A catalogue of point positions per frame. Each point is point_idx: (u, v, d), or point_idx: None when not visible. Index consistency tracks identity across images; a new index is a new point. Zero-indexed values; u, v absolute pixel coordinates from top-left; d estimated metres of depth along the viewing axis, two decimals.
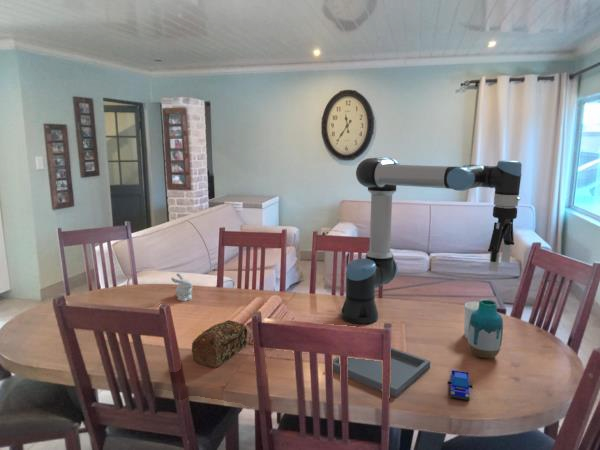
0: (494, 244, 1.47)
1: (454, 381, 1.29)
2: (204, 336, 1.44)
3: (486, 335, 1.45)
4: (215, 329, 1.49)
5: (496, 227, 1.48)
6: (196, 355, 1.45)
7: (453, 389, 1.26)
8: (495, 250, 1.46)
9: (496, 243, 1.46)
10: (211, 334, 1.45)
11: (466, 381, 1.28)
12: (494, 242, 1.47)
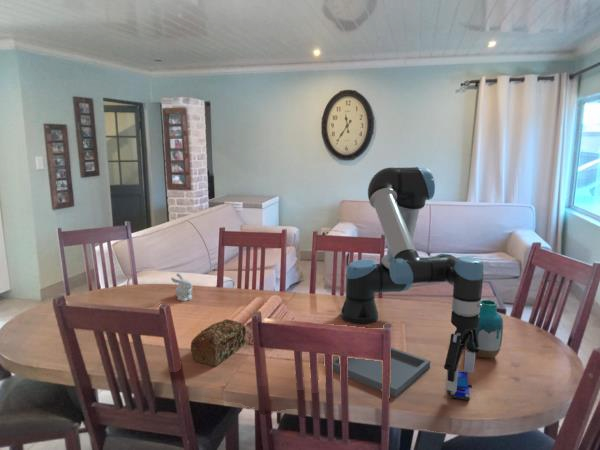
0: (450, 362, 1.21)
1: None
2: (203, 335, 1.44)
3: (486, 335, 1.45)
4: (214, 328, 1.50)
5: (453, 340, 1.23)
6: (195, 354, 1.45)
7: None
8: (451, 370, 1.21)
9: (453, 361, 1.21)
10: (210, 333, 1.45)
11: (465, 381, 1.28)
12: (451, 359, 1.22)
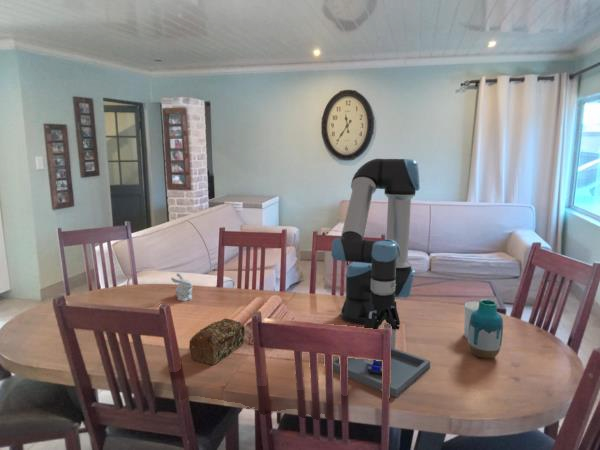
0: None
1: None
2: (201, 334, 1.45)
3: (486, 335, 1.45)
4: (212, 327, 1.50)
5: (369, 317, 1.34)
6: (194, 353, 1.46)
7: (370, 364, 1.38)
8: None
9: None
10: (208, 332, 1.46)
11: None
12: None
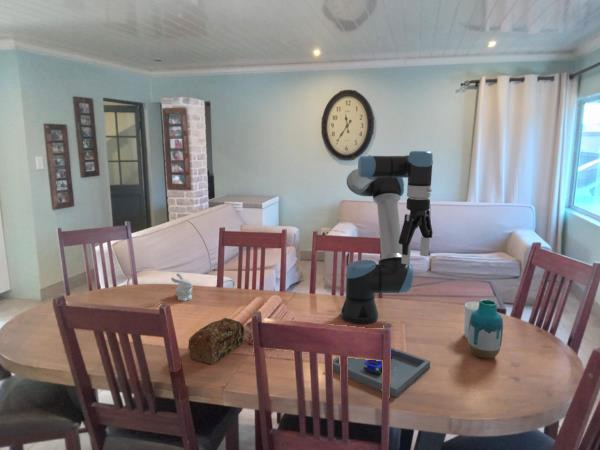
0: (404, 236, 1.43)
1: None
2: (200, 333, 1.46)
3: (486, 335, 1.45)
4: (212, 326, 1.51)
5: (406, 219, 1.44)
6: (193, 352, 1.47)
7: (367, 363, 1.39)
8: (404, 242, 1.43)
9: (405, 235, 1.43)
10: (207, 331, 1.47)
11: None
12: (404, 234, 1.43)
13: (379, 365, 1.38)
